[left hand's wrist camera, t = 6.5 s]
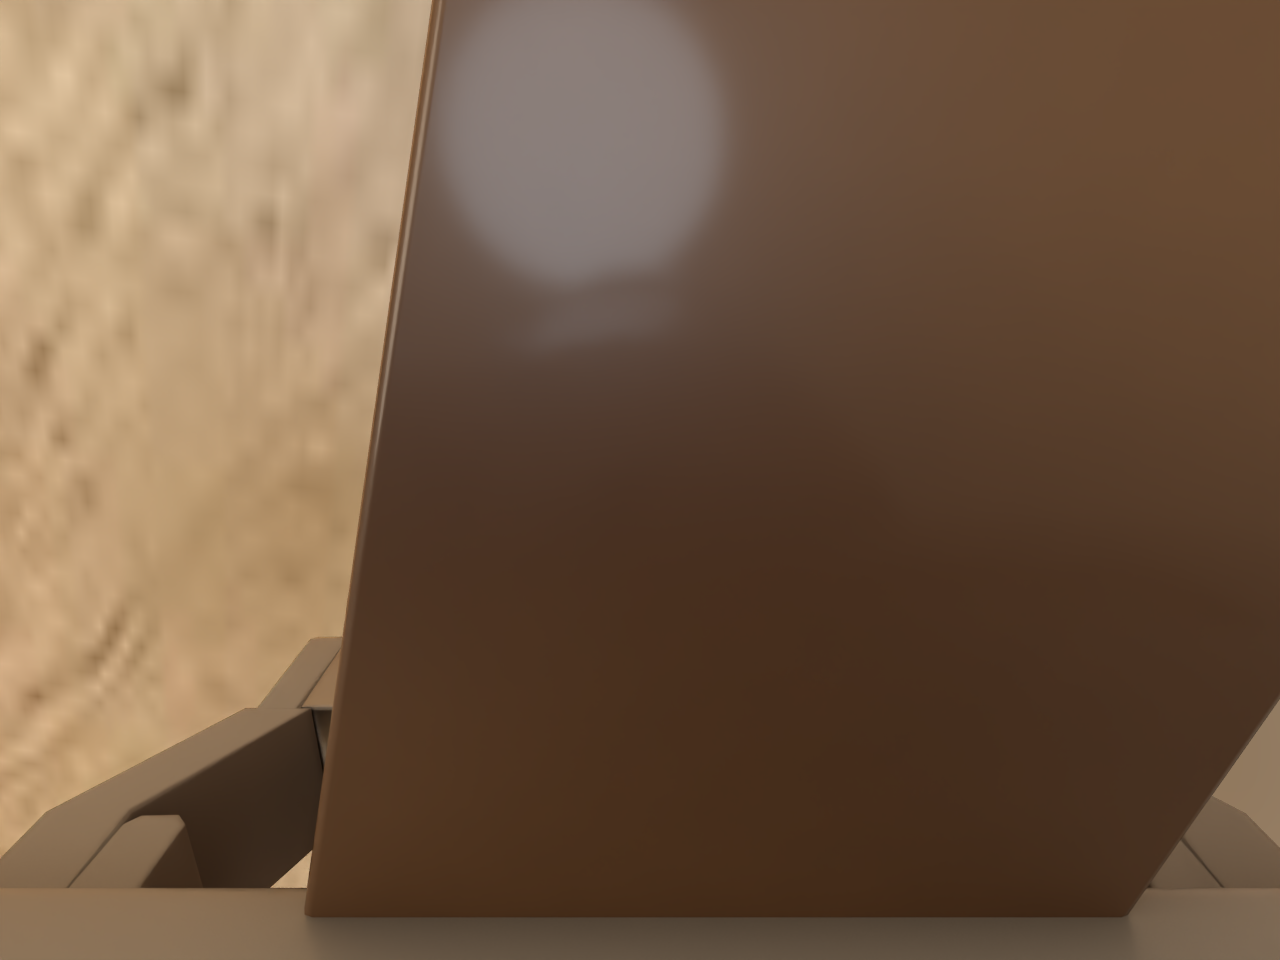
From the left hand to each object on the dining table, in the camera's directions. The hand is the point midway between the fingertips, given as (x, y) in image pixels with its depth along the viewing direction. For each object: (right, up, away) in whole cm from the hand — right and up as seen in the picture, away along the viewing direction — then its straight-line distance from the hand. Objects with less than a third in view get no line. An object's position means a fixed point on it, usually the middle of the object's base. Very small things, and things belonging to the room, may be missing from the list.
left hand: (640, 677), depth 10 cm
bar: (+2, +9, 0) cm, 10 cm away
